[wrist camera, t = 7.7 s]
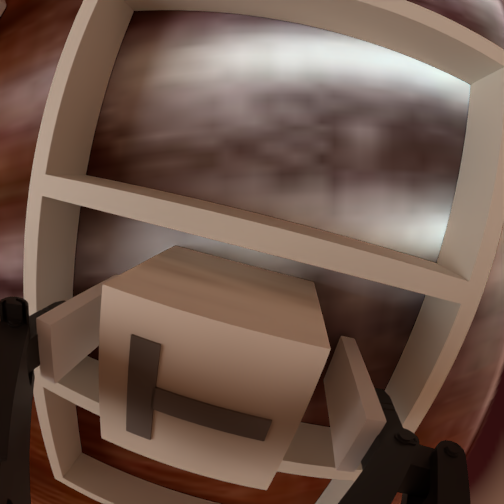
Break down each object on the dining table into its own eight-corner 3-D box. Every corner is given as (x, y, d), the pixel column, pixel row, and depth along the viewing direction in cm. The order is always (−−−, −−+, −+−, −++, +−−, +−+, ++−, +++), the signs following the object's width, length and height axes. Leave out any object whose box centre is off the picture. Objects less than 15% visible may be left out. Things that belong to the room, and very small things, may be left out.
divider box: (311, 523, 19) (311, 555, 16) (73, 454, 21) (54, 478, 17) (485, 77, 12) (519, 60, 9) (125, -2, 13) (98, -29, 10)
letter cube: (275, 395, 17) (266, 492, 10) (157, 361, 17) (100, 439, 11) (313, 281, 16) (330, 350, 9) (175, 245, 16) (100, 285, 9)
